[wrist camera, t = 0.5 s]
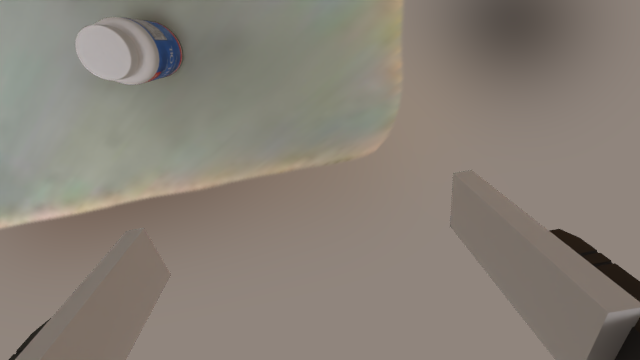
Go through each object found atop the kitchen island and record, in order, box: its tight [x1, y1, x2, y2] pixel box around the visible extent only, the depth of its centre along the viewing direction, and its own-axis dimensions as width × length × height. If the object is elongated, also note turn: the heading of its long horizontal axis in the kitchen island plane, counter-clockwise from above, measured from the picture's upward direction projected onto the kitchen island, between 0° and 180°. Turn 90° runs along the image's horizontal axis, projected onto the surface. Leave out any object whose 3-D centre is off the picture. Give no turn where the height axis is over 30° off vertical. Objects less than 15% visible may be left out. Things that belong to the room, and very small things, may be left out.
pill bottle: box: [75, 17, 182, 85], centre depth 26 cm, size 6×5×10 cm
